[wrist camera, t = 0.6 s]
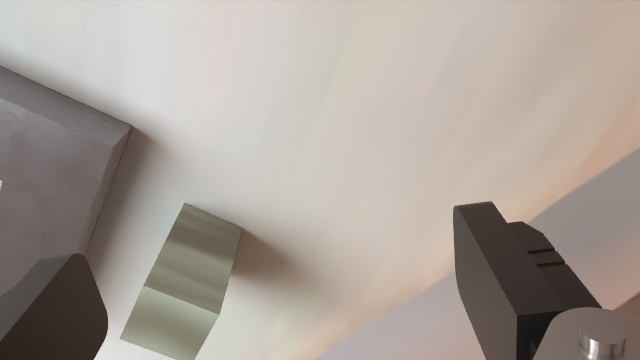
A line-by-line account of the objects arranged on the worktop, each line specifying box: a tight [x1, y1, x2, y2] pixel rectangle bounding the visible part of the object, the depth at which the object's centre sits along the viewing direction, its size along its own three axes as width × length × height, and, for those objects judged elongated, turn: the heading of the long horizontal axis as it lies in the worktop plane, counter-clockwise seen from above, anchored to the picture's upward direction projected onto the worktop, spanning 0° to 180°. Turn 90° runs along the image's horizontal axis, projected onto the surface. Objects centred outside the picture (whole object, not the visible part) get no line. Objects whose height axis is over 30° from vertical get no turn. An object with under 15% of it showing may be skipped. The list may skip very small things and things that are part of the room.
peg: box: [120, 203, 243, 360], centre depth 30 cm, size 4×4×8 cm
